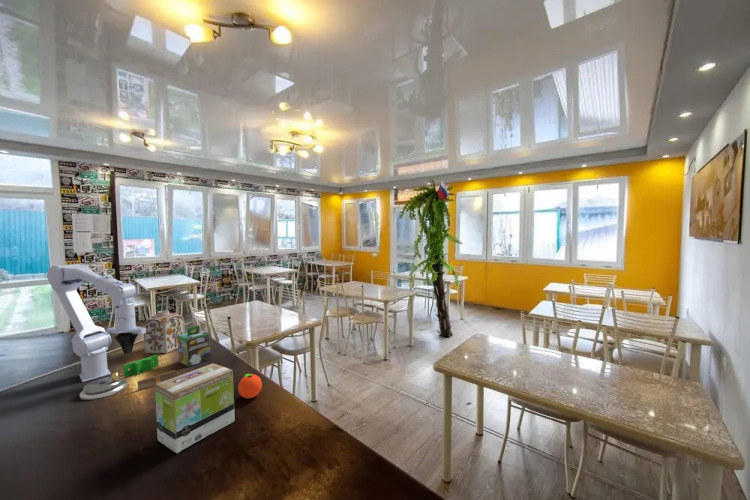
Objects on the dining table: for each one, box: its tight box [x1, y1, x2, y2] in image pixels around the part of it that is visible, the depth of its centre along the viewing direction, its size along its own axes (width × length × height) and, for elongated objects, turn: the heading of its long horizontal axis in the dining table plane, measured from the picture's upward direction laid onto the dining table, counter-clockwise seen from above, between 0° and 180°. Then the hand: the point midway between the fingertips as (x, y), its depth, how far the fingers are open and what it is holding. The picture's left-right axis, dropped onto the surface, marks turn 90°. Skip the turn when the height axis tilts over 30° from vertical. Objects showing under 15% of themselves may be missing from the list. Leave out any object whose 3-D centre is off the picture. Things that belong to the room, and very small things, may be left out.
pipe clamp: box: [122, 354, 160, 378], centre depth 119 cm, size 11×4×5 cm, turn 148°
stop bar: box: [137, 369, 177, 392], centre depth 108 cm, size 1×11×3 cm, turn 139°
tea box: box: [154, 363, 236, 454], centre depth 80 cm, size 15×10×15 cm
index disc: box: [82, 371, 126, 395], centre depth 105 cm, size 10×10×4 cm
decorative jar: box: [142, 309, 186, 354], centre depth 144 cm, size 12×12×18 cm
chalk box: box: [177, 325, 212, 368], centre depth 128 cm, size 9×9×15 cm
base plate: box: [79, 379, 128, 401], centre depth 105 cm, size 12×12×1 cm
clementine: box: [237, 373, 263, 399], centre depth 97 cm, size 8×7×7 cm
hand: (128, 352), depth 114 cm, fingers closed
